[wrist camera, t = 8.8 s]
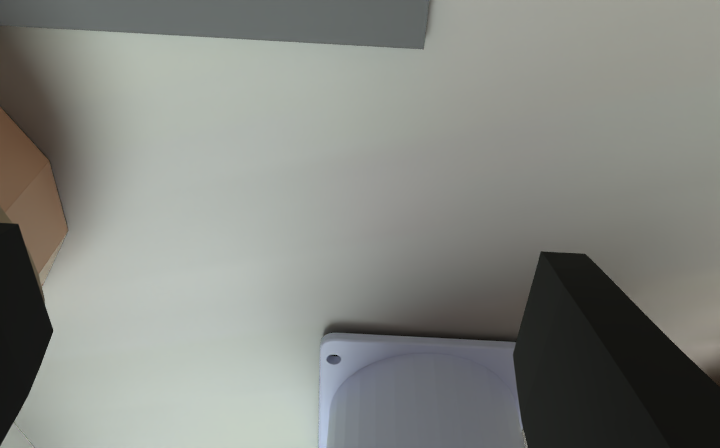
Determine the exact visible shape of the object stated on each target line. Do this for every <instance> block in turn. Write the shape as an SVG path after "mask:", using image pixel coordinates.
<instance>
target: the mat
mask: <svg viewBox="0 0 720 448" xmlns="http://www.w3.org/2000/svg"><path fill="white" fill-rule="evenodd" d="M428 7H429V0H0V25H2V26H20V27H38V28H56V29H73V30H91V31H109V32H127V33H144V34H162V35H180V36H198V37H215V38H233V39H251V40H269V41H286V42H304V43H322V44H340V45H357V46H375V47H393V48H411V49H424V43H425V34H426V25H427V16H428Z"/></svg>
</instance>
